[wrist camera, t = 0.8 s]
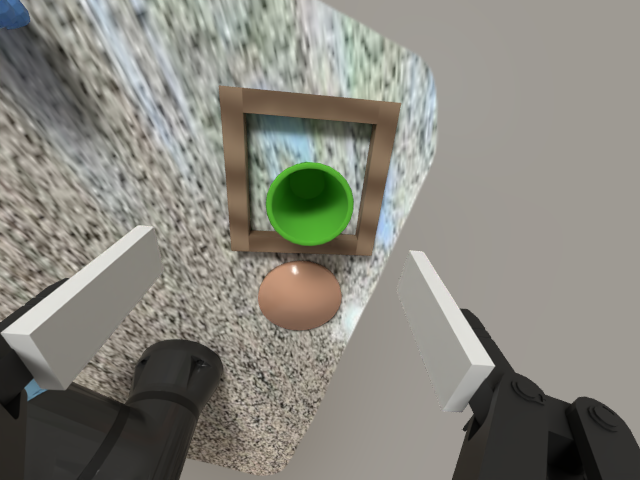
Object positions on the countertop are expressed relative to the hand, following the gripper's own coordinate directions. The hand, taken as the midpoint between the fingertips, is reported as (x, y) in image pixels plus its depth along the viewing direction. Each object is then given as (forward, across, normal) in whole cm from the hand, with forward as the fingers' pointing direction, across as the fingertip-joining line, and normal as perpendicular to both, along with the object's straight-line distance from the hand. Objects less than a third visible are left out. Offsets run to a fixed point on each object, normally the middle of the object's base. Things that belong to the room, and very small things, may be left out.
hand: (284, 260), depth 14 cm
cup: (+25, -1, +4) cm, 25 cm away
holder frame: (+24, -1, +3) cm, 25 cm away
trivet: (+23, -1, +23) cm, 33 cm away
